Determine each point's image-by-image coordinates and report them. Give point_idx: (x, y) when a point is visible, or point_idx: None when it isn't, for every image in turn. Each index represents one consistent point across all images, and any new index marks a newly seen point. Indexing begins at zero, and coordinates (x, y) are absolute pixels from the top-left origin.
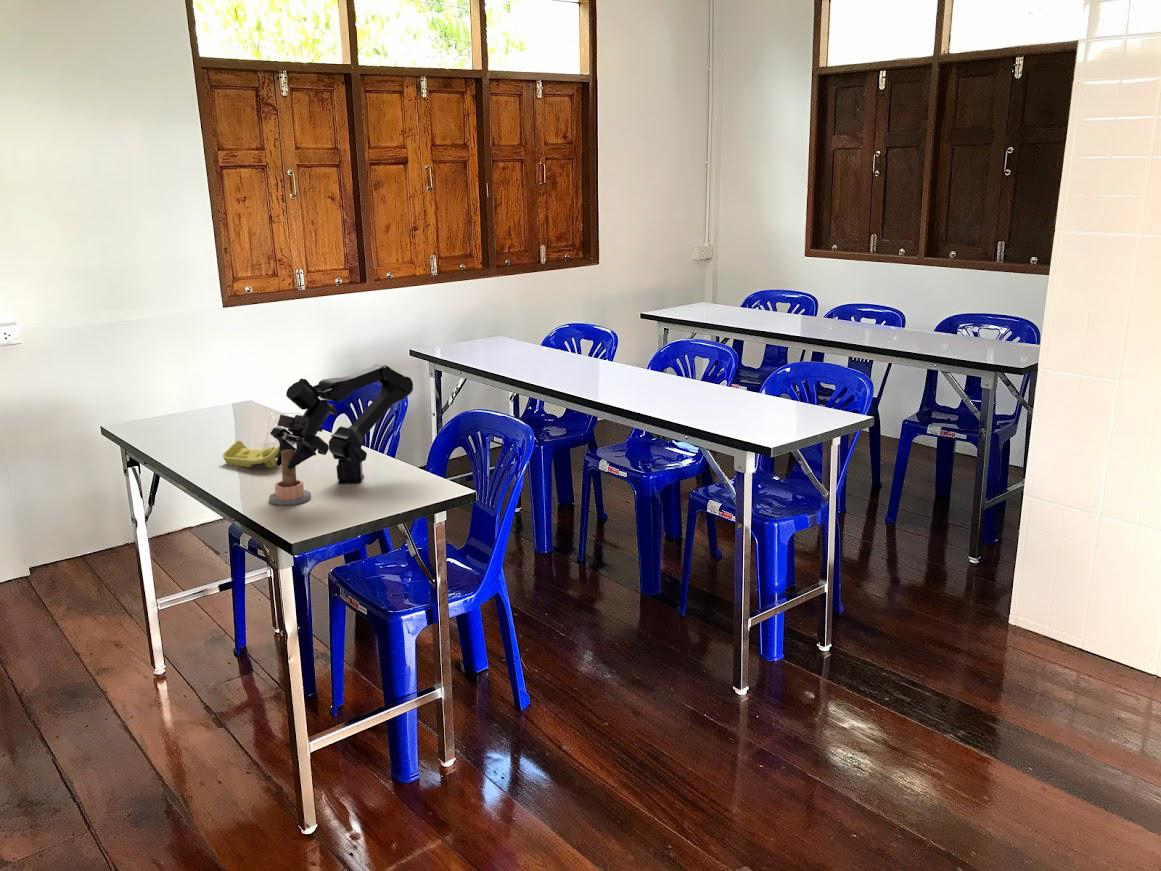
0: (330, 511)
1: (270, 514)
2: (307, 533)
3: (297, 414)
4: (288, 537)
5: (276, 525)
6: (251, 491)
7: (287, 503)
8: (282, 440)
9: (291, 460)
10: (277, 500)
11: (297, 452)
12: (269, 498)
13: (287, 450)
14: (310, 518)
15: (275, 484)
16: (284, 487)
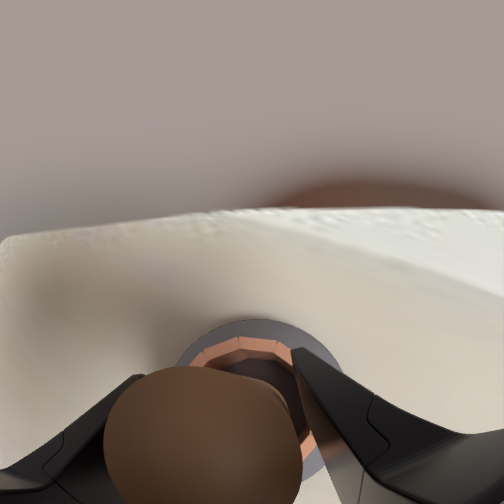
0: (48, 416)
1: (150, 272)
2: (2, 279)
3: None
4: (17, 241)
5: (72, 249)
6: (451, 315)
7: (181, 358)
8: (431, 500)
9: (105, 407)
10: (230, 338)
11: (34, 458)
12: (281, 324)
13: (218, 471)
14: (44, 340)
15: (283, 347)
16: (196, 359)
